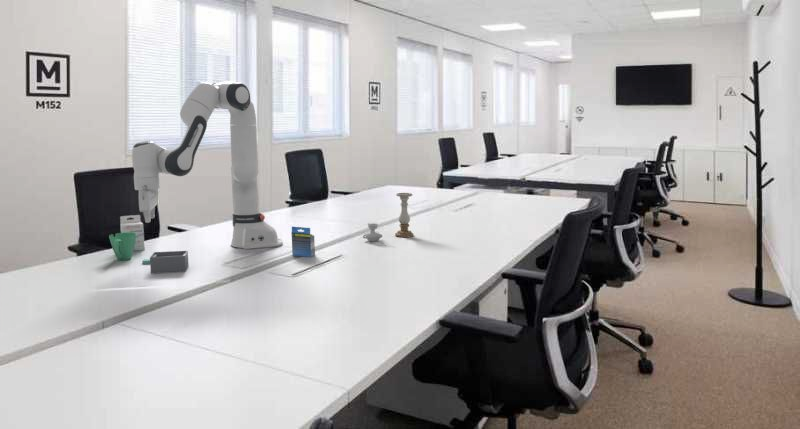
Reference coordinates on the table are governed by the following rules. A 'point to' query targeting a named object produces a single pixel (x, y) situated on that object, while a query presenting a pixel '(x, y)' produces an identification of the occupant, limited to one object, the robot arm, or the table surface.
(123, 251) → the mug
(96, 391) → the table surface
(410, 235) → the candle holder
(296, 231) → the label tape box
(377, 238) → the grey oil lamp
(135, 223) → the ink box
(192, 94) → the robot arm
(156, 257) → the tub
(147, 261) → the lid
